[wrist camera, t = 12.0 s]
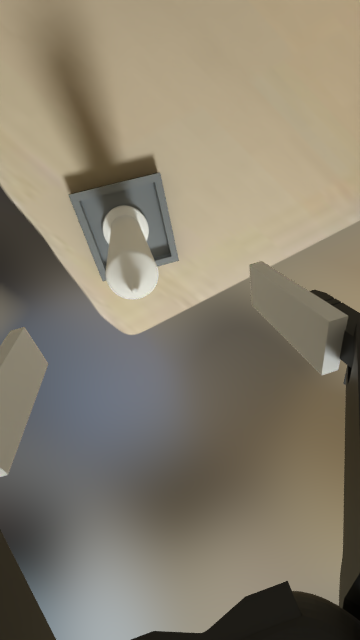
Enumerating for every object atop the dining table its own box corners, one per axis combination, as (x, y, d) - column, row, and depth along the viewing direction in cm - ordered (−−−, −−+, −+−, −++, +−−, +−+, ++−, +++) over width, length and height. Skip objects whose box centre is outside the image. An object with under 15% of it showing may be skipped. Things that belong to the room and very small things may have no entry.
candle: (93, 217, 38) (63, 270, 17) (135, 197, 38) (157, 225, 17) (117, 259, 42) (116, 345, 21) (155, 240, 42) (194, 308, 21)
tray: (71, 193, 37) (68, 195, 35) (157, 172, 38) (160, 172, 36) (103, 276, 44) (102, 281, 41) (175, 256, 45) (178, 260, 42)
